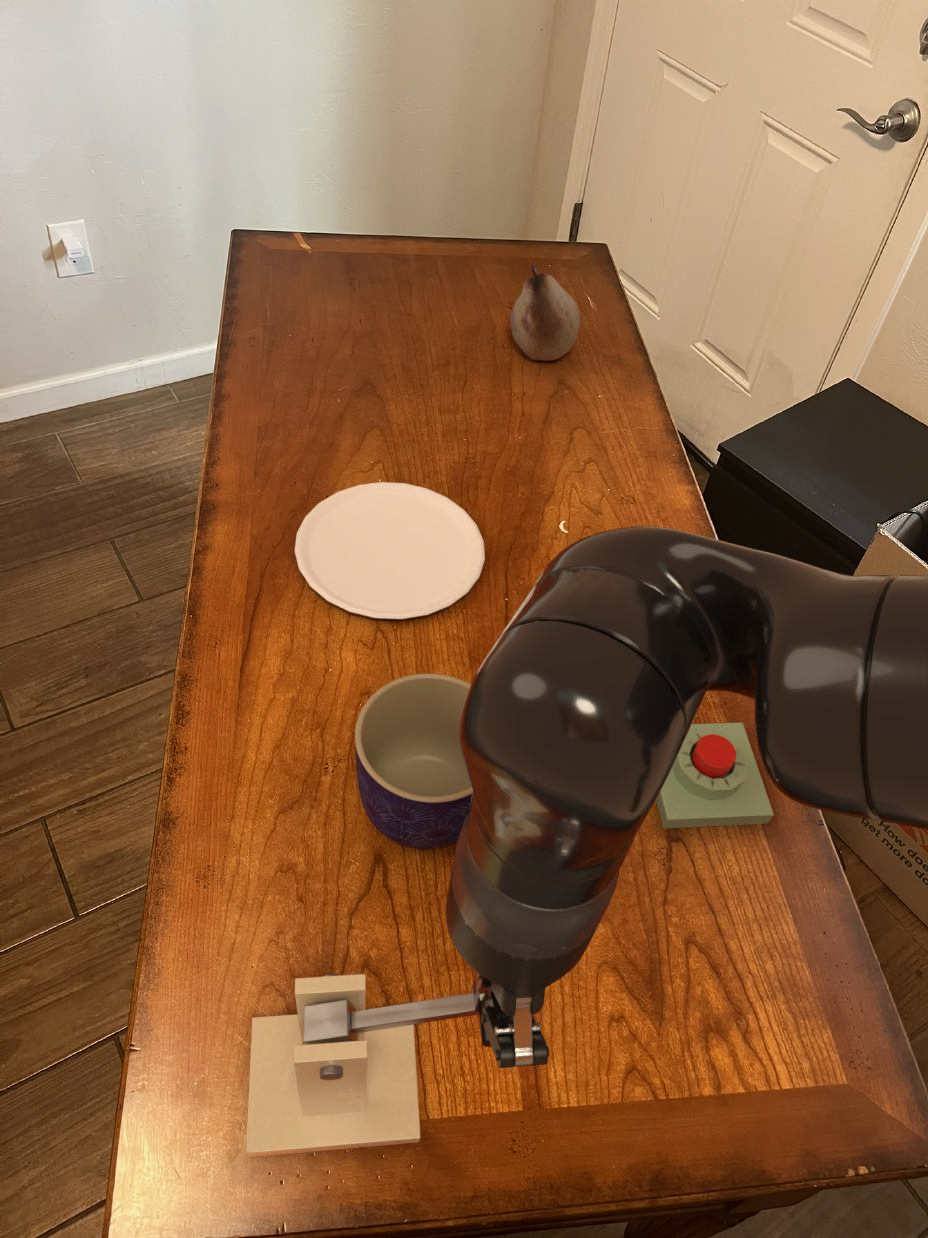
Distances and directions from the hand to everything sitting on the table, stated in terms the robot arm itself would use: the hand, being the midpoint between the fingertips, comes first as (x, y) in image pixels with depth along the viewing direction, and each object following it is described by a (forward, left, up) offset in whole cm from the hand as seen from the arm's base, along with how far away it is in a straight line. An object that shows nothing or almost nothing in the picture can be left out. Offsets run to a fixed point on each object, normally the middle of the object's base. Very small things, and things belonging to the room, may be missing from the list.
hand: (490, 998), depth 58 cm
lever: (+3, +4, -3) cm, 6 cm away
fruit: (+68, -66, -16) cm, 96 cm away
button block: (+7, -34, -16) cm, 38 cm away
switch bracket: (+5, +8, -16) cm, 19 cm away
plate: (+47, -26, -16) cm, 56 cm away
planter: (+20, -11, -16) cm, 28 cm away
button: (+7, -34, -13) cm, 37 cm away
